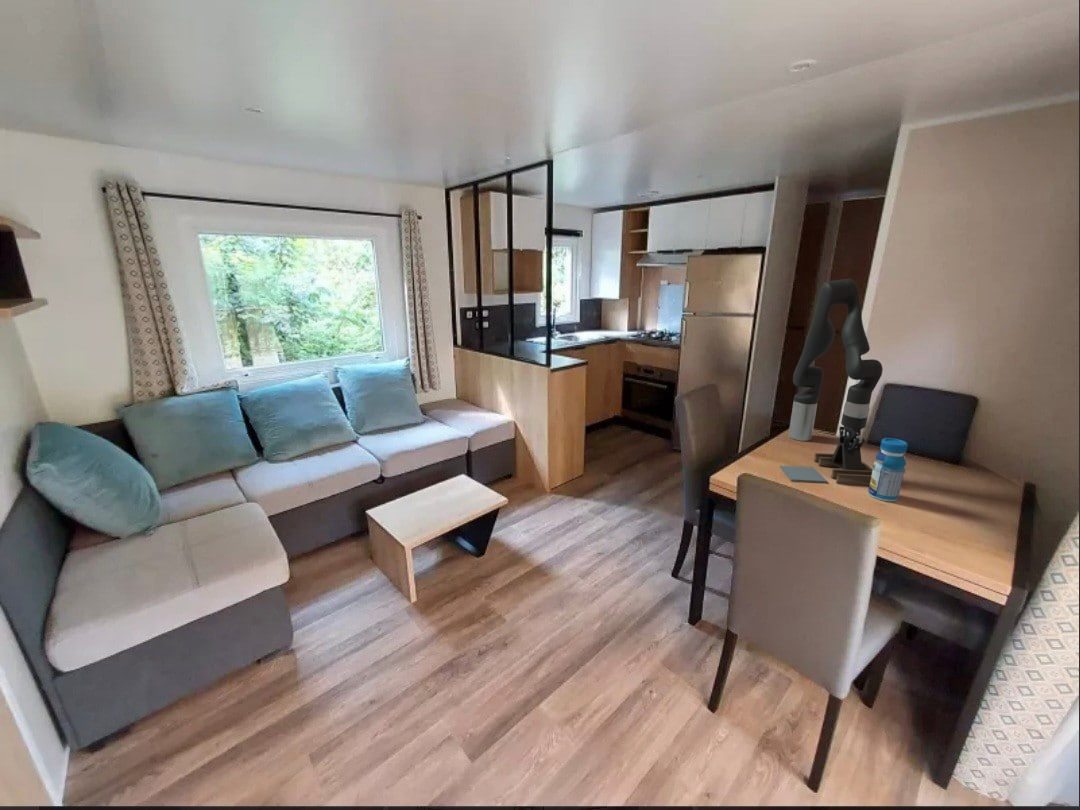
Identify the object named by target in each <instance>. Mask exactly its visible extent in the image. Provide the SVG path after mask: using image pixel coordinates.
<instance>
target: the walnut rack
mask: <svg viewBox="0 0 1080 810" xmlns="http://www.w3.org/2000/svg"><path fill="white" fill-rule="evenodd" d="M833 454H834V453H827V452H826V453H825V452H823V453H822V452H815V453H814V458H813V461H814V462H815V463H818V467H827V468H829V467H830V468H831V467H832V471H831V477H830V478H831V479H833V480H835V483H836V484H838V485H856V486H869V485H870V480H871V476H872V471H873V467H871V466H869V465H868V464H866V463H865V462H864V461H863V460H861V462H862V470H845V469H841V468H839V467H838V466H836V465H835V464H833V463H832V462H830V460H831V458H832V456H833Z"/></svg>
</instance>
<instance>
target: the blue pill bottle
mask: <svg viewBox="0 0 1080 810" xmlns="http://www.w3.org/2000/svg"><path fill="white" fill-rule="evenodd" d="M908 446H909V445H908V443H907V442H906V441H905V440H902V439H898V438H894V437H893V438H891V437H884V438H882V439H881V442H880V447H879V448H880V451H879V452H878V453H877V454H876V455H875V457H874V459H875V461H874V462H873V464H872V469H873V471H872V476H871V480H870V485H868V490H867V493H868V495H870V497H872V498H874V499H876V500H879V501H884V502H896V501H897V500H898V499H899V494H900V491H901V486H902V484H903V483H902V482H903V479H904V475H905V472H906V468H905V467H906V465H907V458H906V456H905V454H906V453H907V450H908Z"/></svg>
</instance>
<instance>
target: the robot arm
mask: <svg viewBox="0 0 1080 810" xmlns="http://www.w3.org/2000/svg"><path fill="white" fill-rule="evenodd" d="M842 305H843V306H844V305H845V307H846V310H847V313H846V314H847V316H846V319H845V321H844V324H843V326H842V330H841V340H842V343H843V347H844V349H845V350H844V351H845V371H846V372H845V373H846V374H847V376H848V378H850V379H851V380H853V381H859V380H860V381H859V382H857V383H855V384H853V385H850V386H849V387H848V390H847V394H846V401H845V403H844V406H843V411H842V412H843V413H842V415H841V421H840V423H841V425H842V426H839V434H838V435H839V437H840V436H847V439H848V441H847V443H848V450H850V455H851V454H852V456H854V452H855V451H859V450H860V451H861V448H862V446H863V444H864V443H865V440H866V439H865V438H863V437H861V433H862V432H861V431H862V430H863V429H865V428H866V427H867V422H868V418H869V412H870V405H871V400H872V395H873V394H872V393H873V391H874V390H875V389H876V387H877V385H878V383H879V381H880V379H881V378H882V375H883V371H884V370H883V365H882V363H881V362H880V361H879V360H878V359H872V358H870V359H862V356H864V355H865V354H868V352H869V351H870V348H871V347H870V343H869V340H868V337H867V334H866V331H865V327H864V324H863V317H862V316H863V315H862V308H861V300H860V294H859V288H858V285H857V283H856V281H855V280H854V279H851V278H844V279H837V280H830V281H826V282H824V283H823V284H822V286H821V287H820V288H819V292H818V296H817V301H816V305H815V306H816V307H815V311H814V315H813V319H812V322H811V325H810V327H809V330H808V333H807V336H806V339H805V343H804V347H803V349H802V353H801V355H800V358H799V360H798V363H797V365H796V367H795V369H794V372H793V375H792V383H793V385H794V386H796V387H800V388H808V389H807V390H804V391H802V392H797V393H796V394H795V395H794V397H793V403H792V411H791V416H790V423H789V429H788V437H789V438H790V439H792V440H796V441H802V442H804V441H806V442H807V441H811V440H812V437H813V431H814V427H815V420H816V413H817V407H818V401H819V397H820V392H821V388H822V384H823V379H824V370H823V368H822V367H821V366H811V364H812V363H813V362H814V361H815V360H817V359H819V358H820V357H821V356H823V355H824V354H826V352H827V351H828V350H829V349H830V348H831V346H832V344H833V341H834V339H835V336H836V330H835V327H834V325H833V322H832V321H831V319H830V317H829V316H830V311H831V309H832V307H834V306H842ZM850 441H854V442H850ZM851 444H852V446H851ZM851 452H852V453H851Z"/></svg>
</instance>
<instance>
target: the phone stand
mask: <svg viewBox="0 0 1080 810" xmlns="http://www.w3.org/2000/svg"><path fill="white" fill-rule="evenodd" d="M847 441H848V439H847V436H840V435H839V441H838V444H837V446H836V448H835V450H834V451H833V453H832V454H833V456H832V458H831V460H830V462H832V463H833V464H835V465H836V466H838V467H837V468H839V469H845V470H862V462H861V461H862V452H861V449H860V450H859V451H855V452H854V456H852V454H851V455H850V450H848V443H847ZM850 442H854V441H850ZM851 446H852V444H851ZM851 453H852V452H851Z"/></svg>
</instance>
